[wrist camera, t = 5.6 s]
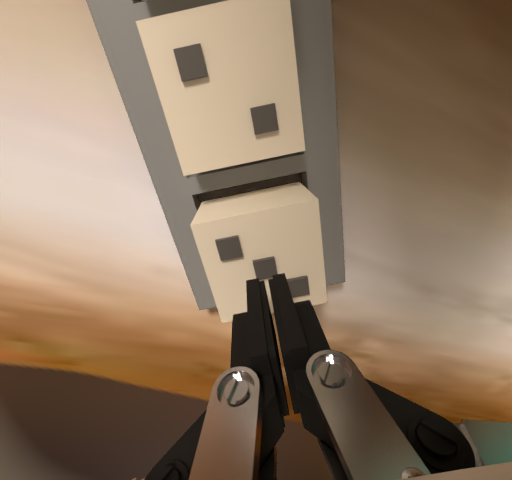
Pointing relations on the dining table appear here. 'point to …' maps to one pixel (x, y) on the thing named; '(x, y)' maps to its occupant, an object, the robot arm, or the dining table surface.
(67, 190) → the dining table surface
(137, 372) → the dining table surface
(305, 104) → the board
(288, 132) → the tile two
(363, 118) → the dining table surface
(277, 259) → the tile three
